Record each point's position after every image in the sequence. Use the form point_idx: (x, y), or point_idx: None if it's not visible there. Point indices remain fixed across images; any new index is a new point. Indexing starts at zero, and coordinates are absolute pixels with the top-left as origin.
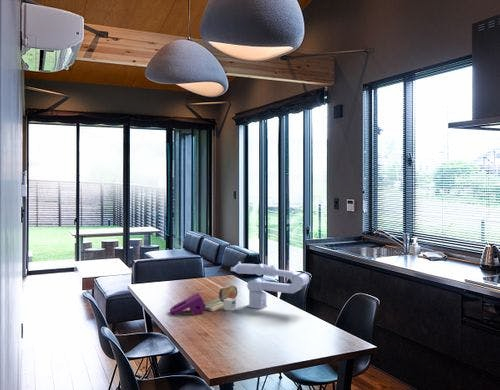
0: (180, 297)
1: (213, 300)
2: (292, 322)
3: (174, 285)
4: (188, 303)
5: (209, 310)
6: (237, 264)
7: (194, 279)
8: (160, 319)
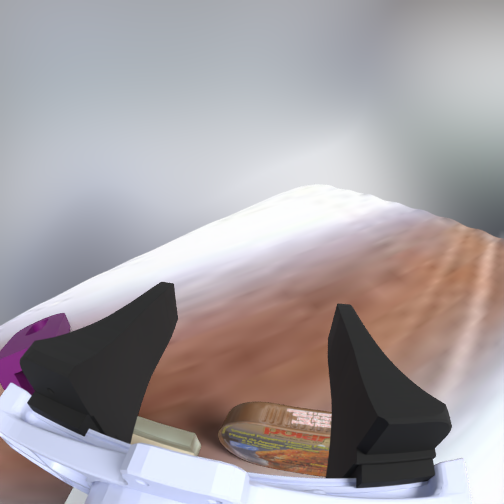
0: (253, 280)
1: (143, 420)
2: None
3: (375, 222)
4: (5, 345)
5: None
6: (88, 458)
7: (460, 227)
8: (3, 325)
